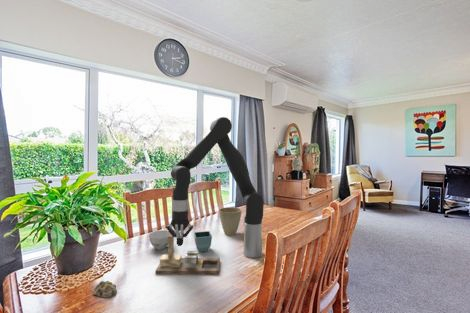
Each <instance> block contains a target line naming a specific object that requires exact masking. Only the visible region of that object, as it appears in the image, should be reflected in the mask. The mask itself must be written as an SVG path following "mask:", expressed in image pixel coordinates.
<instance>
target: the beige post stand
mask: <svg viewBox="0 0 470 313" xmlns="http://www.w3.org/2000/svg"><path fill="white" fill-rule="evenodd" d="M174 238H175V237H173V236H172V235H169V236H168V246H167V248H168V251H167V253H168V254H162V255H161V256H160V258H159V264H160V266H180V263H181V261H182V258H183V256H182V254H174V246H175V243H174V240H175V239H174Z"/></svg>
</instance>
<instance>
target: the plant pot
mask: <svg viewBox="0 0 470 313" xmlns="http://www.w3.org/2000/svg"><path fill="white" fill-rule="evenodd" d="M242 211H243V209H241V208H240V207H233V206H232V207H231V206H229V207H228V206H227V207H222V208H219V209H218V213H219V219H220V223H221V228H222V230H223V233H224V235H225V236H230V237H231V236H235V235H236V234H237V232H238V230H239V226H240V223H241V217H242Z"/></svg>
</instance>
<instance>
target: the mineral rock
mask: <svg viewBox="0 0 470 313" xmlns="http://www.w3.org/2000/svg"><path fill="white" fill-rule="evenodd" d="M116 288H117V285H116V284H115V283H113V282H112V281H110V280H106V281H104V280H102V281H99V282H98V284H96V286H95V287H94V289H93V296H97V297H102V298H108V297H109V298H111V297H114V296H116V295H117V292H118V291H117V289H116Z"/></svg>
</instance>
